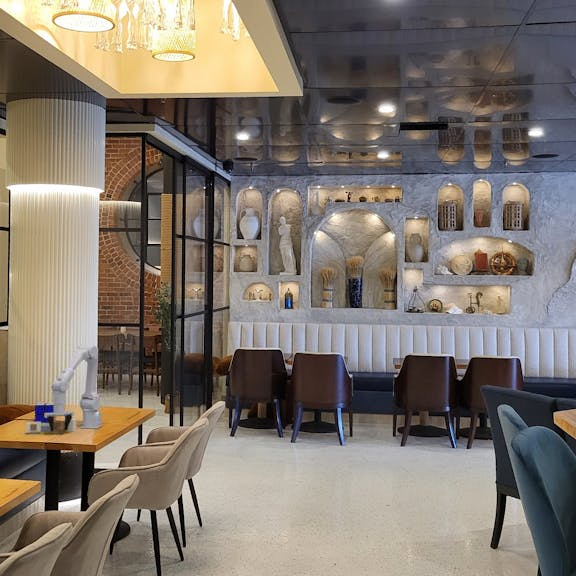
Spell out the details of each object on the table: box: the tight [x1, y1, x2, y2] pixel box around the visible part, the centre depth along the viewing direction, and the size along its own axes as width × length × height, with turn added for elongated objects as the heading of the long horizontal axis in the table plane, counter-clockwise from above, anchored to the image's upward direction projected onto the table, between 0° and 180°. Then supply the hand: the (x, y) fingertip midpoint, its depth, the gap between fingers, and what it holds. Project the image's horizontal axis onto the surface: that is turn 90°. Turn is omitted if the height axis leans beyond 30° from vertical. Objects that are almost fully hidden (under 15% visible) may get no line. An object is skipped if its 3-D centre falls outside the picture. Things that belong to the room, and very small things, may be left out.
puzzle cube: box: [34, 401, 57, 423], centre depth 412 cm, size 10×10×10 cm
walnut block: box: [52, 420, 66, 436], centre depth 377 cm, size 5×5×6 cm
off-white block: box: [63, 417, 77, 432], centre depth 387 cm, size 5×5×6 cm
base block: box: [41, 423, 52, 433], centre depth 386 cm, size 8×8×4 cm
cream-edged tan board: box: [25, 421, 42, 435], centre depth 377 cm, size 7×4×6 cm, turn 107°
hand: (59, 430), depth 377 cm, fingers closed on walnut block, 7 cm apart
